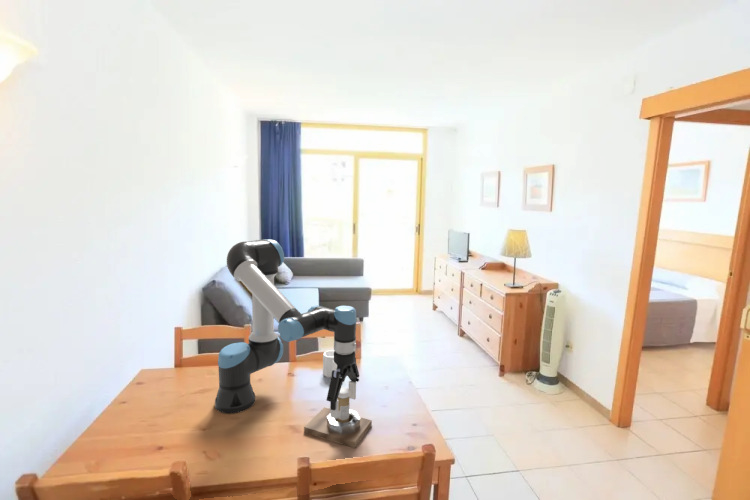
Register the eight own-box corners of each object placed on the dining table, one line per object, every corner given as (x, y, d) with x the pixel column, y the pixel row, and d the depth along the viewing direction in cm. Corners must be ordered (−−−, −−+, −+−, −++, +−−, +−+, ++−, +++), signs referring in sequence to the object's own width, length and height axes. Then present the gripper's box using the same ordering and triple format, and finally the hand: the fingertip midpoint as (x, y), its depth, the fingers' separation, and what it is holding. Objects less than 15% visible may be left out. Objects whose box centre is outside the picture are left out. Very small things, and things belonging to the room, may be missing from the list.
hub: (322, 429, 135) (322, 419, 134) (337, 413, 145) (337, 404, 144) (350, 437, 131) (350, 427, 130) (363, 420, 141) (363, 411, 140)
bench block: (304, 432, 136) (304, 426, 136) (324, 412, 149) (324, 407, 149) (354, 448, 129) (354, 442, 128) (371, 425, 141) (371, 420, 141)
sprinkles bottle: (336, 421, 140) (337, 387, 138) (349, 421, 140) (349, 386, 138) (336, 429, 135) (337, 393, 133) (349, 428, 136) (350, 393, 134)
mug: (321, 370, 184) (321, 351, 182) (339, 368, 186) (339, 349, 185) (325, 382, 172) (326, 361, 171) (344, 380, 175) (345, 359, 173)
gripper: (336, 367, 121) (335, 429, 124) (369, 340, 144) (367, 393, 147) (316, 362, 124) (315, 423, 127) (351, 337, 146) (350, 389, 150)
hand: (343, 407), depth 137 cm, fingers open, 13 cm apart
